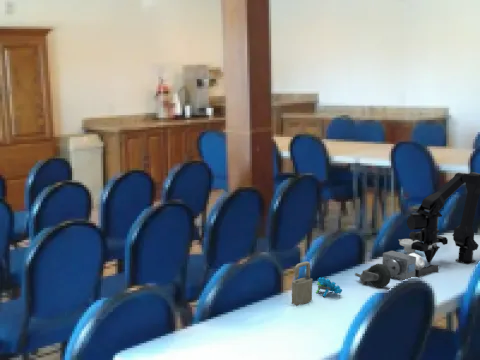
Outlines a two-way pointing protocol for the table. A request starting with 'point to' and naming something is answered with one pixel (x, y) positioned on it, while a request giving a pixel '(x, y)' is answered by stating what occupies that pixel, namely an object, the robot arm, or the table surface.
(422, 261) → the white folded round lump
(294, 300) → the padlock
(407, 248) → the showerhead
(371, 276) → the caster wheel
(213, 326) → the table surface
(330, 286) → the blue toy creature
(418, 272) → the bracket
